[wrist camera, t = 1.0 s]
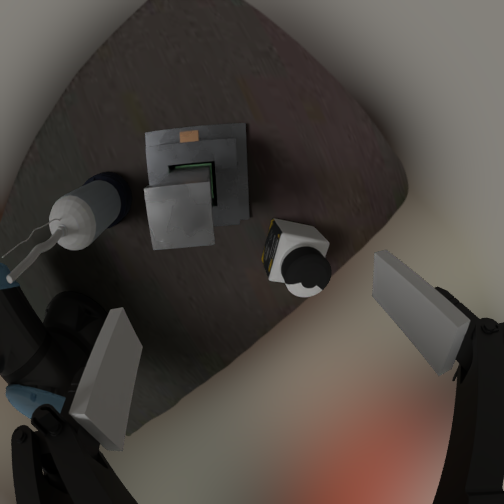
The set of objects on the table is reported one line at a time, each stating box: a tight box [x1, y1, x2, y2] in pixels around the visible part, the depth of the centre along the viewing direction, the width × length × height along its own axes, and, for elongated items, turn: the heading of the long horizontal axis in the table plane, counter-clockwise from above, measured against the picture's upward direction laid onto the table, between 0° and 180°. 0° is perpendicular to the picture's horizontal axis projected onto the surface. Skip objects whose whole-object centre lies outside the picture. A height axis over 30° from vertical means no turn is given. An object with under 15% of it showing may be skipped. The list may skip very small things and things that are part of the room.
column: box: [144, 161, 215, 250], centre depth 29 cm, size 5×5×21 cm
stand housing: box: [145, 123, 249, 226], centre depth 34 cm, size 14×14×9 cm
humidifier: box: [2, 172, 132, 283], centre depth 26 cm, size 8×8×25 cm
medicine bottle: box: [262, 218, 331, 297], centre depth 39 cm, size 7×7×12 cm
